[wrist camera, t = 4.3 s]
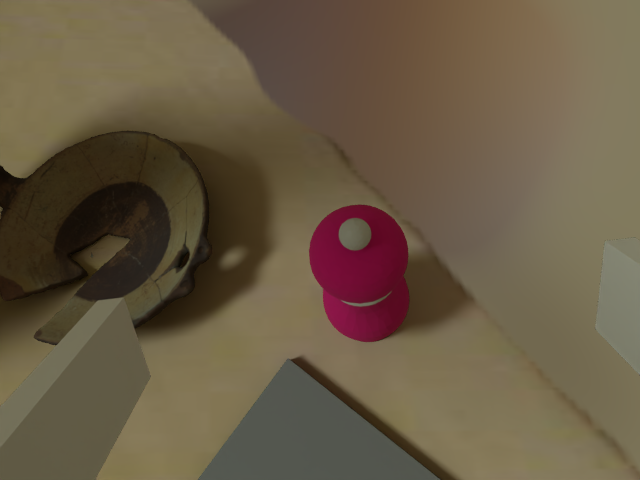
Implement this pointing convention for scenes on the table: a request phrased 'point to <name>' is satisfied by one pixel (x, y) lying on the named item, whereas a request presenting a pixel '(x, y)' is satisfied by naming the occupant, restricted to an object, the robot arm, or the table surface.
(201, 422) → the table surface
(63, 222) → the ancient handled dish
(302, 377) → the charcoal notebook
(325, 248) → the pepper mill
